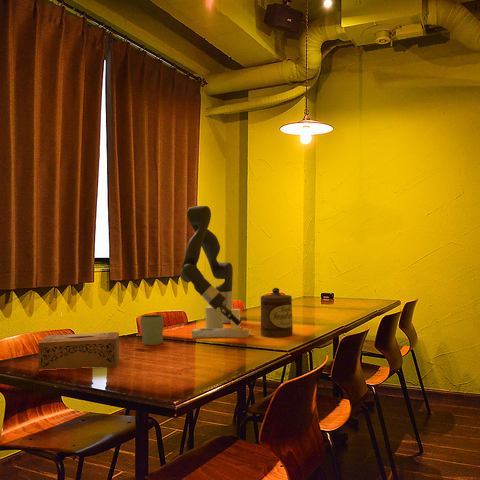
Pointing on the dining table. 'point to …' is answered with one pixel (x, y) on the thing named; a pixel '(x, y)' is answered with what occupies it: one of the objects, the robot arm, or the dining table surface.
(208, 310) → the can
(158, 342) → the grey green cup
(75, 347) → the tissue box cover
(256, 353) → the dining table surface
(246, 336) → the rail
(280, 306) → the wooden container
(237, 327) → the block
